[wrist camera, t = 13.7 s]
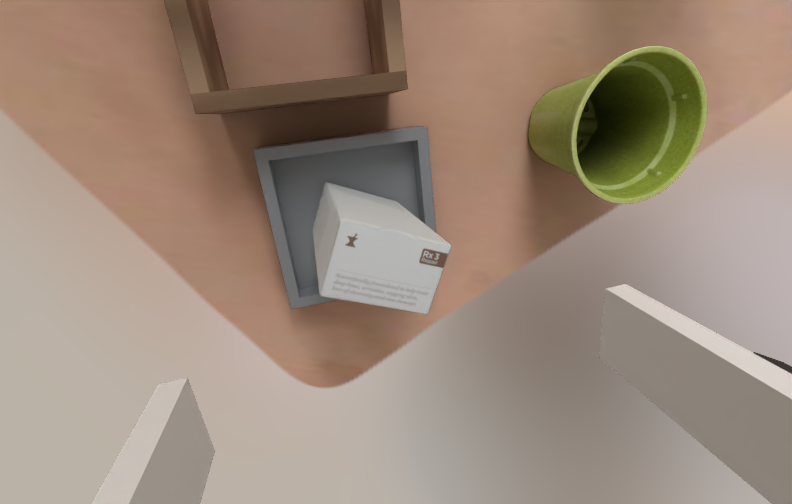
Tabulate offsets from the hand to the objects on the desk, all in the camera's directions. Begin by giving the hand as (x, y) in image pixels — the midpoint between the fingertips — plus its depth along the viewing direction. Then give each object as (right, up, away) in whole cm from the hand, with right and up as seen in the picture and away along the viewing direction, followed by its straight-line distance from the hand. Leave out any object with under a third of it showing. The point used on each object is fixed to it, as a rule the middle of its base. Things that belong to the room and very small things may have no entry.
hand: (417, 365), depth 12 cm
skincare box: (-4, +7, +18) cm, 20 cm away
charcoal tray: (-4, +7, +19) cm, 20 cm away
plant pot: (+13, +14, +20) cm, 28 cm away
